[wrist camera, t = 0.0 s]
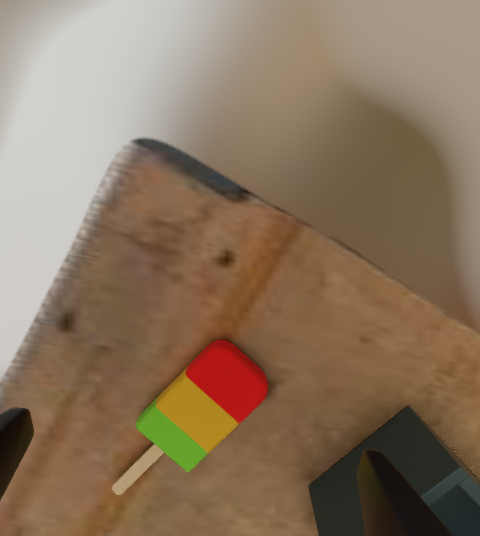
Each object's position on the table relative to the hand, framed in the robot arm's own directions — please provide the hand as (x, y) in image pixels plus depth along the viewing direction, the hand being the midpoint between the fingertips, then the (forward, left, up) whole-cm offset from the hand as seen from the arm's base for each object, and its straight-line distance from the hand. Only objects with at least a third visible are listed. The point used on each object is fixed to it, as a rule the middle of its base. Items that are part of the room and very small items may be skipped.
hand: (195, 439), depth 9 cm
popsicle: (-9, -4, -16) cm, 19 cm away
